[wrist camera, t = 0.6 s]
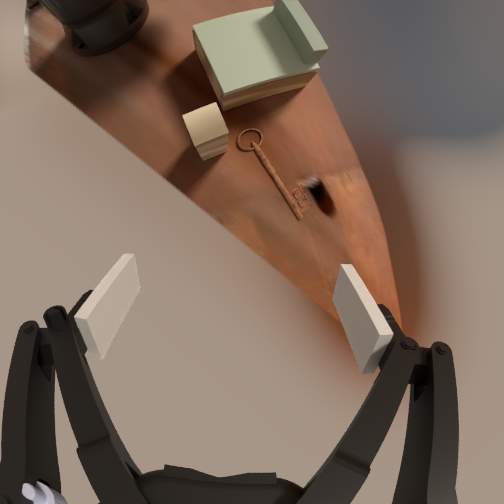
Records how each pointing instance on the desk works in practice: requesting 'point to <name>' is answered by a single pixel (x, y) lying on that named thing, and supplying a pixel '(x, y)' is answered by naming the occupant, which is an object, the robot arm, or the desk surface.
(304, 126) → the desk surface
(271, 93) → the light wooden box
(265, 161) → the key
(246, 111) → the desk surface
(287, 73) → the lid
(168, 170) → the desk surface
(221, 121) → the block
